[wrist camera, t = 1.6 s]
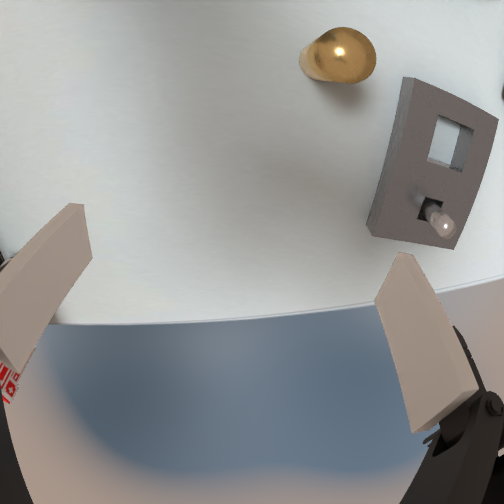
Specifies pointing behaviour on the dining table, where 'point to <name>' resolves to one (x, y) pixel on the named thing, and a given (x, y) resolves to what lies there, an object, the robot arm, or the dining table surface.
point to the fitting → (339, 57)
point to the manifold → (430, 169)
